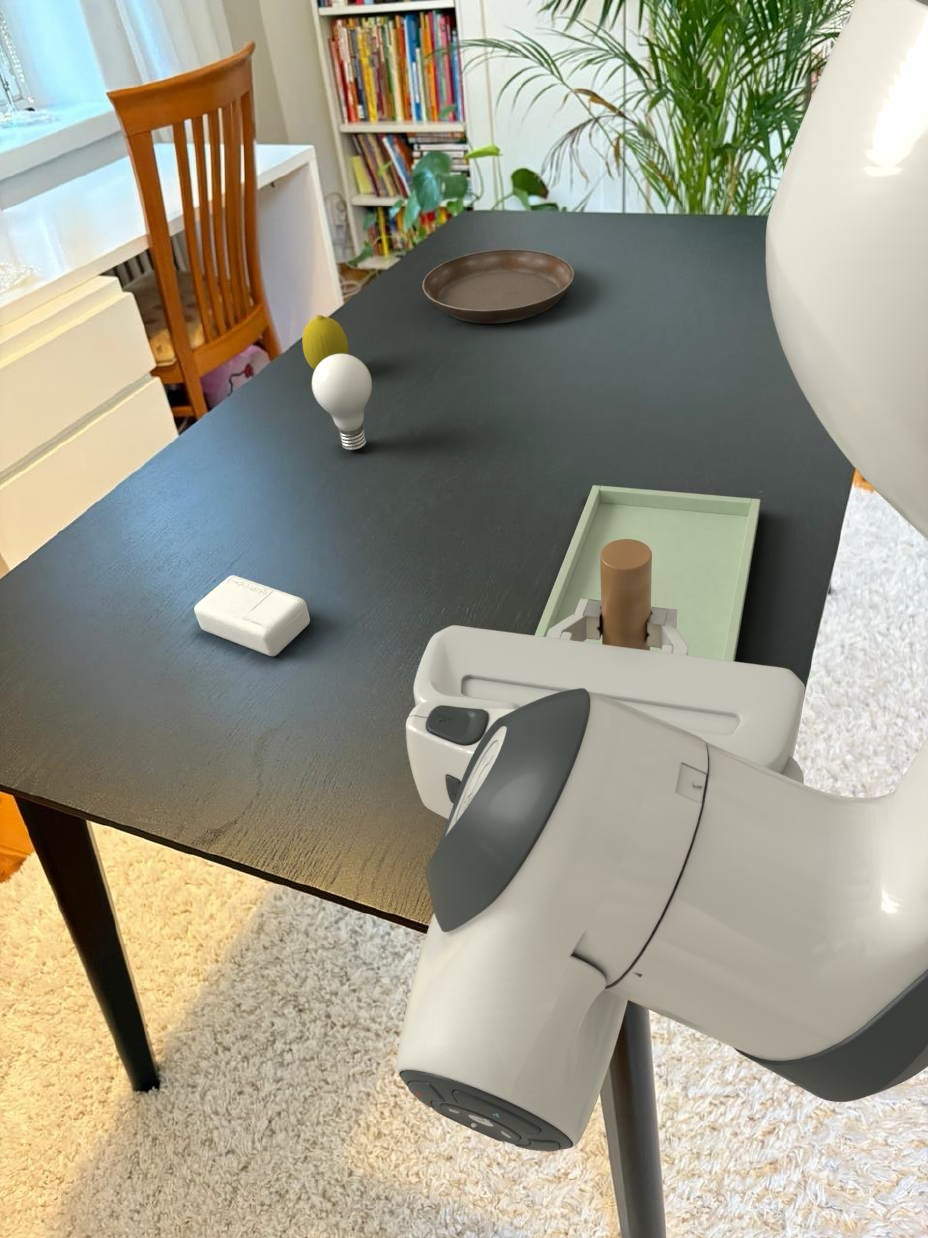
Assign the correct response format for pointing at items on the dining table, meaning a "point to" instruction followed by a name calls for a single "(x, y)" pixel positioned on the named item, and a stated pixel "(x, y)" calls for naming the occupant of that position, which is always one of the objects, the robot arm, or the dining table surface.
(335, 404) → the lightbulb
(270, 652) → the soap
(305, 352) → the lemon
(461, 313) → the plant saucer
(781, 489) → the dining table surface
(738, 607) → the tray
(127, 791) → the dining table surface
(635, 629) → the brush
